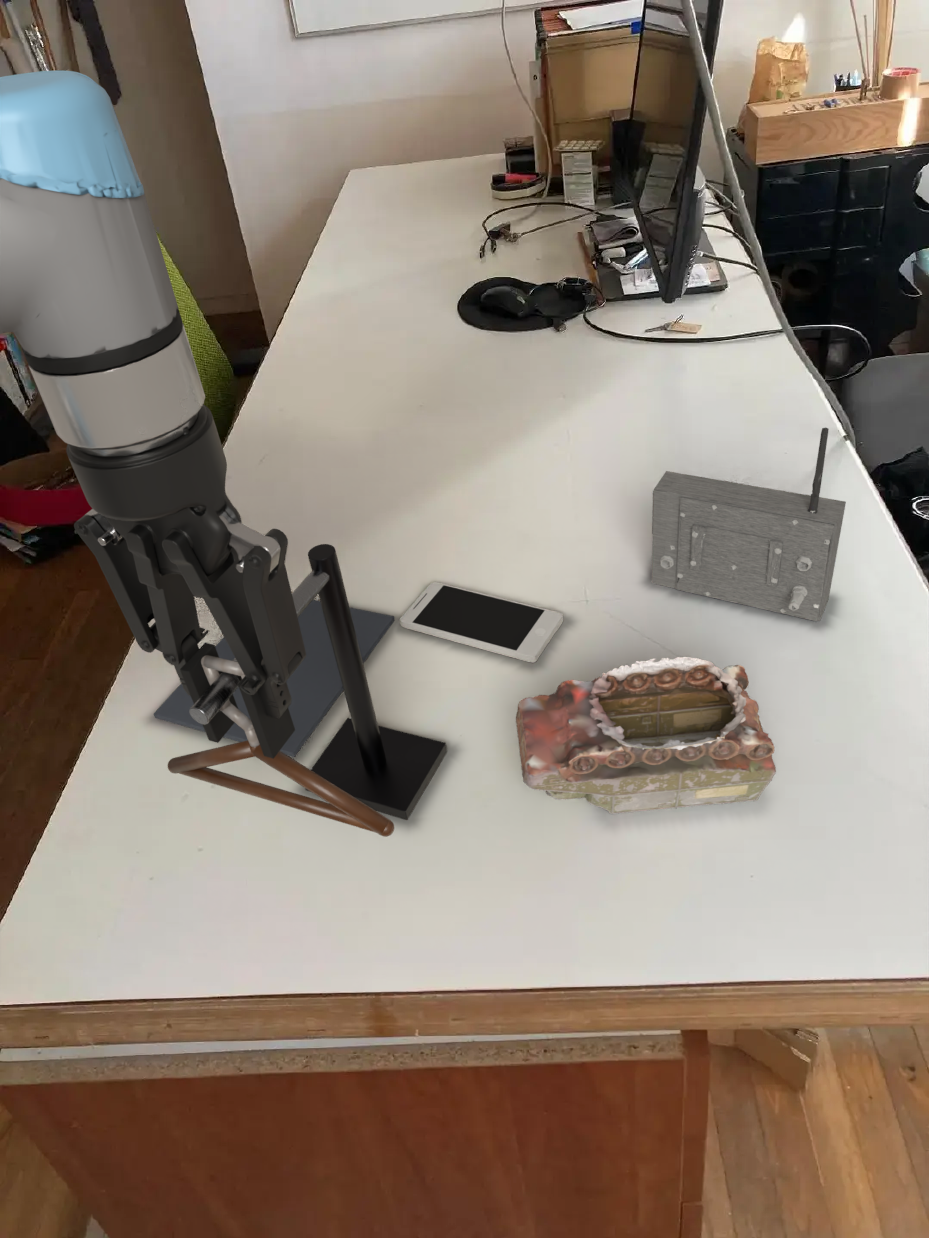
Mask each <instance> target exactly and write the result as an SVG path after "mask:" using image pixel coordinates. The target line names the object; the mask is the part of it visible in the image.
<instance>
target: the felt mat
mask: <svg viewBox="0 0 929 1238" xmlns="http://www.w3.org/2000/svg"><path fill="white" fill-rule="evenodd" d="M349 608H350V612H351V616H352V620H353V624H354V628H355V632H356V636H357V641H358V645H359V649H360V653H361V657H362V661H363V664H364V663H365V662H366V661H367V659H368V658H369V656H370V655H371V654H372V652H373V651H374V650H375V648H376V647H377V645H378V644H379V643H380V641H381V640H382V639H383V637H384V636H385V635H386V633H387V632H388V630H389V629H390V627H391V626H393V624H394V622H395V621H396V619H395V616H394V615H390V614H385V613H380V612H376V611H372V610H371V611H370V610H366V609H361V608H357V607H351V606H349ZM298 622H299V626H300V630H301V634H302V638H303V642H304V647H305V651H306V657H305V658H304V660H303V661H302V662H301V664H300V665H299V666H298V667H297V669H296V670H295V671H294V672H293V673H292V675H291V676H290V677H289V678H288V680H287V681H286V683H287V686H288V689H289V693H290V695H291V698H292V700H291V704H290V705H289V707H288V709H289V712H290V715H291V718H292V721H293V724H294V727H295V731H294V732H293V734H292V735H291V736H290V738H289V739H288V740H287V742H286V743H285V744H284V746H283V747H282V748H281V750H280V751H281V752H283V753H284V754H286V755H287V756H289V757H291V758H296V756H297V754H298V753H299V752H300V750H301V749H302V747H303V746H304V744H306V742H307V741H308V740H309V738H310V737H311V735H312V734H313V733H314V731H315V730H316V729H317V727H318V726H319V724H320V723H321V721H322V720H323V719H324V718H325V716H326V715H327V713H328V712H329V711H330V710H331V708H332V706H333V705H334V704H335V703H336V701H337V700H338V699H339V697H340V696H341V694H342V693H343V692H344V689H343V686H342V682H341V678H340V674H339V671H338V667H337V663H336V659H335V656H334V652H333V648H332V644H331V640H330V637H329V633H328V629H327V625H326V622H325V618H324V614H323V610H322V607H321V603H320V600H316V599H313V601H312V602H311V603H310V604H309V605H308V606H307V608H306V609H305V610H304V611H303V612H302V613H301V615H300V616H299V617H298ZM215 648H216V650H217V653H218V656H219V658H222V659H226V660H230V661H233V660H234V658H235V656H234V654H233V653H232V651H231V649H230V647H229V645H228V643H227V642H226V640H225V638H224V637H222V638H221V640H219V641H218V643H217V644H216V645H215ZM233 696H234V699H235V701H236V704H237V707H238V709H239V710H240V711H241V712H242V713H243V714H244V715H246V716H247V717H248V718H249V719H250V716H249V713H248V711H247V708H246V705H245V703H244V700H243V697H242V694H241V692H240V689H239V687H238V689H237V690H236V691H235V692H234V693H233ZM193 705H194V703H193V701H192V698H191V696H189V695H188V694H187V693H186V691H185V690H184V689H183V686H182V684H181V683H180V684H179V686H177V687H176V688H175V690H174V691H173V692H172V693H171V694H170V695H168V697H167V698H166V699H165V701H163V703H161V705H160V706H159V707H158V708H157V709H156V710H155V711H154V712H153V716H154V717H153V718H154V719H157V720H160V721H164V722H168V723H171V724H174V725H179V726H182V727H184V728H185V727H186V728H189V729H193V730H196V731H200V732H203V733H206V732H205V730H204V727H203V725H202V724H201V723H198V722H197V721H195V720H194V719H193V718H192V717H191V715H190V713H189V710H190V708H191V707H192V706H193ZM250 720H251V719H250ZM222 738H225V739H229V740H232V741H235V742H237V743H239V742H243V741H247V740H248V739H247V736H246V734H245V731H244V730H243V729H242V728H241V727H240V726H238V725H237V724H236V723H234V724H233V725H232V726H231V728H230V729H229V730H228V731H227V733H226V734H225V735H224V736H223V737H222Z"/></svg>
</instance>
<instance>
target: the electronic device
mask: <svg viewBox="0 0 929 1238" xmlns="http://www.w3.org/2000/svg"><path fill="white" fill-rule="evenodd" d="M828 436H829V428H828V427H822V428H821V432H820V438H819V445H818V452H817V458H816V465H815V472H814V477H813V481H812V484H811V485H812V491H811V494H804V493H799V492H792V491H786V490H780V489H775V488H769V487H762V486H757V485H751V484H745V483H739V482H733V481H727V480H721V479H715V478H710V477H705V476H697V475H693V474H686V473H681V472H680V473H679V472H674V471H668V470H665V472H664V473H663V475H662V476H661V478H660V480H659V481H658V482H657V483H656V485H655V486H654V488H653V489H652V512H651V513H652V514H651V515H652V517H651V535H652V536H651V537H652V538H651V539H652V540H651V579H650V580H651V582H650V584H653V585H657V586H663V587H667V588H671V589H675V590H677V591H682V592H686V593H691V594H695V595H699V596H703V597H707V598H712V599H716V600H722V601H726V602H731V603H734V604H735V603H736V604H739V605H743V606H748V607H751V608H752V607H753V608H756V609H761V610H766V611H770V612H775V613H778V614H783V615H787V616H792V617H796V618H801V619H805V620H810V621H813V622H821V620H822V617H823V615H824V613H825V610H826V607H827V605H828V602H829V598H830V594H831V588H832V582H833V576H834V572H835V567H836V566H835V565H836V559H837V555H838V554H837V553H838V549H839V543H840V537H841V533H842V527H843V521H844V515H845V511H846V504H847V501H845V500H839V499H835V498H834V499H833V498H827V497H820V494H821V488H822V481H823V474H824V473H823V472H824V465H825V458H826V451H827V446H828V445H827V444H828Z"/></svg>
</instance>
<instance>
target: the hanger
mask: <svg viewBox="0 0 929 1238" xmlns="http://www.w3.org/2000/svg"><path fill="white" fill-rule="evenodd" d="M201 664H202V667H203V669H204V672H205V674H206V677H207V679H208V682H209V684H210V686H211V684H212V683H213V682H214V681H215V680H216V679H217V678H218V677H219V672H218V671H222V672H226V673H230V674H234V675H238V676H241V678H242V679H243V678H244V677H245V675H244V673H243V671H242V669H241V667H240V665H239V664H238V662H235V661H230V660H226V659H222V658H218V657H213V656H209V655H206V656H204V657H202V659H201ZM220 710H221V711H222V712H223V713H224V714H225V715H226V716H228V717H229V718H230V719H231V720H232V721H234V722H235V723H236V724H237V725H238V726H240V727H241V728H242V729H243V730H244V731H245V734H246V736H247V739H248V740H247V741H243V742H234V743H230V744H226V745H222V746H218V747H213V748H210V749H209V748H208V749H205V750H201V751H197V752H193V753H188V754H184V755H179V756H175V757H172V758H170V760H169V761H168V762H167V770H168V771H169V772H170V773H171V774H175V775H176V774H179V775H183V776H186V777H189V778H191V779H195V780H199V781H201V782H202V781H203V782H206V783H209V784H213V785H215V786H220V787H222V788H226V789H229V790H233V791H236V792H239V793H242V794H246V795H249V796H253V797H255V798H259V799H262V800H266V801H269V802H272V803H276V804H279V805H281V806H282V805H283V806H286V807H289V808H293V809H296V810H299V811H301V812H306V813H309V814H313V815H316V816H319V817H322V818H326V819H328V820H333V821H336V822H339V823H342V824H345V825H349V826H353V827H356V828H359V829H363V830H366V831H369V832H373V833H376V834H378V835H379V836H381V837H383V838H386V837H387V838H388V837H390V836H391V835H392V834H393V833H394V831H395V824H394V821H392V820H391V819H390V818H388V817H387V816H385V815H383V813H381V812H378V811H375V810H374V809H372V808H371V807H369V806H367V805H366V804H364V803H363V802H361V801H359V800H358V799H356V798H355V797H353V796H351V795H350V794H348V793H347V792H345V791H343V790H342V789H340V788H339V787H337V786H335V785H334V784H332V783H331V782H329V781H327V780H326V779H324V778H323V777H321V776H319V775H318V774H316V773H315V772H313V771H311V769H310V768H308V767H306V766H305V765H303V764H302V763H300V762H299V761H297V760H295V759H294V758H293V757H292V756H288V755H286V754H284V753H283V752H281V751H279V752H278V753H277V755H276V756H275V757H274V759H273V758H269V757H266V756H264V755H263V752H262V749H261V746H260V744H259V741H258V738H257V735H256V733H255V730H254V727H253V724H252V722H251V720H250V719H249V718H248V717H247V716H246V715H244V714H243V713H242V712H241V711H240V710H239V709H237V708H236V707H235V706H234V705H233V704H231V703H230V701H229V699H228V700H227V701H226V703H225V704H224V705H223V706H222V707H221V709H220ZM251 758H257V759H258V760H260V761H261V762H263V763H265V764H266V765H267V766H270V767H271V768H273V769H274V770H275V771H277V772H279V773H280V774H282V775H284V776H285V777H287V778H288V779H290V780H292V781H293V782H295V783H296V784H298V785H300V786H301V787H303V788H304V789H305V788H306V789H308V790H309V791H308V792H310V791H311V792H310V793H312V794H314V795H315V796H317V797H319V798H320V799H321V800H320V799H316V798H313V797H310V796H306V795H303V794H299V793H296V792H293V791H288V790H285V789H282V788H279V787H276V786H272V785H268V784H266V783H261V782H258V781H256V780H255V781H254V780H251V779H248V778H245V777H242V776H237V775H234V774H231V773H227V772H225V771H220V770H217V769H213V768H210V767H213V766H218V765H223V764H227V763H233V762H237V761H242V760H246V759H251Z"/></svg>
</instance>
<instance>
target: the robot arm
mask: <svg viewBox="0 0 929 1238" xmlns="http://www.w3.org/2000/svg"><path fill="white" fill-rule="evenodd" d="M124 135H125V134H124V131H123V130H122V126H121V124H120V122H119V118H118V116H117V113H116V110H115V107H114V105H113V101H112V99H111V97H110V96H109V94H108V93H107V91H106V89H105V88H104V87H102V86H101V85H100V84H98V83H97V82H96V81H95V80H93V79H92V78H91V77H90V76H88V75H86V74H84V73H81V72H77V71H73V70H62V69H61V70H60V69H58V70H42V71H32V72H31V71H30V72H24V73H17V74H11V75H4V76H0V335H1V334H5V333H13V334H14V336H15V337H16V339H17V341H18V343H19V344H20V346H21V350H22V353H23V356H24V357H25V360H26V363H27V365H28V368H29V370H30V373H31V376H32V378H33V380H34V382H35V385H36V387H37V390H38V392H39V394H40V397H41V399H42V402H43V404H44V407H45V409H46V411H47V414H48V416H49V419H50V421H51V425H52V426H53V428H54V431H55V433H56V435H57V436H58V437H59V438H60V439H61V440H62V441H63V442H64V443H65V444H67V445H66V449H65V450H66V455H67V457H68V461H69V462H70V465H71V467H72V469H73V471H74V474H75V476H76V479H77V480H78V483H79V485H80V488H81V490H82V492H83V495H84V498H85V499H86V502H87V503H88V505H89V506H90V508H91V509H90V510H89V511H87V512H86V513H85V514H84V515H83V516H81V517H80V518H79V519H78V520H76V521H75V522H74V523H73V527H74V531H75V532H76V533H77V535H79V537H80V538H81V540H82V541H83V543H84V544H85V545H86V547H88V549H89V550H90V551H91V553H92V554H93V556H94V557H95V559H96V562H97V563H98V566H99V567H100V570H101V571H102V574H103V575H104V577H105V580H106V581H107V584H108V586H109V588H110V590H111V592H112V594H113V596H114V598H115V600H116V602H117V604H118V606H119V608H120V610H121V612H122V615H123V617H124V619H125V621H126V623H127V625H128V627H129V629H130V631H131V633H132V635H133V636H134V639H135V641H136V644H137V645H138V647H139V648H140V649H141V650H142V651H144V652H146V653H148V654H149V653H153V652H155V650H156V651H158V652H160V653H162V656H163V658H164V660H165V661H166V662H167V663H168V664H169V665H171V666H173V667H174V669H175V672H176V674H177V677H178V678H179V681H180V684H182V686H183V689H184V690H185V691H186V693H187V694H188V695H189V696H191V698H192V701H193V703H194V704H195V703H196V701H197V700H198V699H199V698H200V697H201V696H202V695H203V693H204V692H205V691H206V690H207V689H208V688H209V687H210V684H209V682H208V679H207V677H206V674H205V672H204V669H203V667H202V664H201V659H202V657H204V656H206V655H209V656H213V657H218V658H219V656H218V653H217V650H216V648H215V646H216V645H215V644H213V643H208V642H204V643H203V644H202V645H201V646H200V647H199V644H200V642H201V641H203V639H204V638H205V637H206V636H207V635H208V634H209V630H208V629H207V630H206V628H204V627H201V626H200V621H199V616H198V615H199V614H198V611H197V605H196V600H195V598H197V599H203V601H204V603H205V605H206V607H207V608H208V610H209V612H210V614H211V615H212V618H213V620H214V621H215V623H216V625H217V627H218V629H219V630H220V632H221V634H222V636H223V638H225V640H226V642H227V643H228V645H229V647H230V649H231V651H232V653H233V654H234V656H235V658H236V660H237V662H238V664H239V665H240V667H241V669H242V671H243V673H244V675H245V677H244V678H243V679H242V680H241V681H240V683H239V684H238V686H239V689H240V692H241V694H242V697H243V700H244V703H245V705H246V708H247V711H248V713H249V716H250V719H251V722H252V724H253V727H254V730H255V733H256V735H257V738H258V741H259V744H260V746H261V749H262V752H263V755H264V756H266V757H269V758H273V759H274V757H275V756H276V755H277V753H278V752H279V751H280V750H281V748H282V747H283V746H284V744H285V743H286V742H287V740H288V739H289V738H290V736H291V735H292V734H293V732H294V731H295V727H294V724H293V721H292V718H291V715H290V712H289V709H288V707H289V705H290V704H291V700H292V698H291V695H290V693H289V689H288V686H287V683H286V681H287V680H288V678H289V677H290V676H291V675H292V673H293V672H294V671H295V670H296V669H297V667H298V666H299V665H300V664H301V662H302V661H303V660H304V658H305V657H306V651H305V647H304V642H303V638H302V634H301V630H300V626H299V622H298V617H297V613H296V609H295V605H294V601H293V596H292V593H293V591H292V589H291V584H290V581H289V576H288V571H287V568H286V564H285V563H286V557H287V553H288V552H287V551H288V545H289V539H288V536H287V535H286V534H285V533H284V531H282V530H281V529H279V528H271V529H269V530H268V532H267V533H265V535H264V534H262V533H261V532H259V531H257V530H254V529H253V528H251V527H249V526H248V525H246V524H244V523H243V522H242V517H241V515H240V513H239V511H238V509H237V508H236V507H235V505H234V504H233V503H232V502H231V499H230V498H229V497H228V495H227V493H226V478H227V469H228V464H227V462H228V461H227V458H226V456H225V451H224V449H223V445H222V442H221V439H220V436H219V432H218V429H217V426H216V423H215V420H214V419H215V418H214V416H213V414H212V411H211V410H210V407H208V406H207V405H205V399H206V394H205V390H204V387H203V384H202V381H201V377H200V374H199V371H198V367H197V365H196V362H195V358H194V354H193V350H192V348H191V345H190V341H189V338H188V335H187V332H186V328H185V326H184V323H183V319H182V316H181V312H180V310H179V309H180V308H179V306H178V305H179V304H178V301H177V299H176V295H175V292H174V291H175V290H174V288H173V286H172V282H171V277H170V275H169V272H168V268H167V265H166V261H165V258H164V255H163V251H162V248H161V245H160V241H159V237H158V235H157V234H158V233H157V231H156V228H155V223H154V220H153V217H152V214H151V210H150V207H149V204H148V201H147V198H146V194H145V189H144V185H143V183H142V182H141V179H140V176H139V174H138V171H137V169H136V166H135V163H134V161H133V157H132V155H131V151H130V150H129V147H128V143H127V141H126V139H125V138H126V137H125V136H124ZM152 620H154V622H153V623H152V625H150V622H151V621H152ZM218 672H219V675H220V674H221V673H222V671H218ZM229 701H230V703H231V704H233V705H234V706H235V707H236V708H237V709H238V707H237V704H236V701H235V699H234V696H233V694H232V696H231V697H230V698H229ZM234 723H235V722H234V721H232V720H231V719H230V718H229V717H228V716H226V715H225V714H224V713H223V712H222V711H221V710H219V711H218V712H217V713H216V714H215V716H214V717H213V718H212V719H211V720H210V721H209V723H208V724H202V725H203V727H204V730H205V732H204V733H205V735H206V736H207V739H208V741H209V742H214V743H217V744H218V743H219V742H220V741H221V740H222V739H223V738H224V737H223V736H224V735H225V734H226V733H227V731H228V730H229V729H230V728H231V726H232V725H233V724H234Z"/></svg>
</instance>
